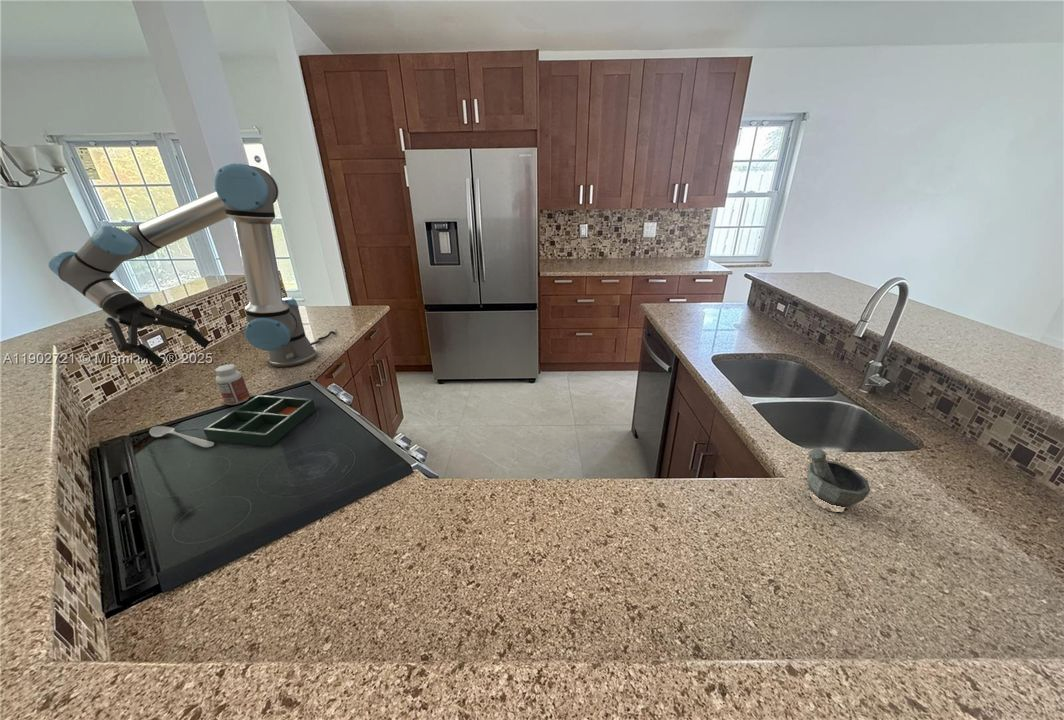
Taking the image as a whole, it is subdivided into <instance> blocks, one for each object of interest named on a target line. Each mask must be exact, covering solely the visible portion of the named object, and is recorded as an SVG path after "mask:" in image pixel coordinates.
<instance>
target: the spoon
mask: <svg viewBox="0 0 1064 720" xmlns="http://www.w3.org/2000/svg"><path fill="white" fill-rule="evenodd" d="M148 433H149V435H150V436H151V437H153V438H160V437H164V436H166V435H174V436H177V437H180V438H182V439H184V440H185V441H187V442H189V443H191V444H194V445H196V446H199V447H201V448H204V449H207V448H212V447H214V446H215V441H208V439H202V438H199V437H196V436H195V437H194V436H191V435H187V434H184V433H179V432H177V431H176V428H175V427H170V426H163V425H157V426H152V427H151V428H150V429H149V431H148Z"/></svg>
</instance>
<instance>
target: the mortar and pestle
mask: <svg viewBox="0 0 1064 720" xmlns="http://www.w3.org/2000/svg"><path fill="white" fill-rule="evenodd" d="M826 458H827V455H826V452H825V451H823V450H822V449H817V448H815V449H811V450H810V451H809V452H808V459H810V460H811V462H810V463H809V464H808V467H807V472H806V479H807V480H806V482H807V486H808V489H809V491H812V492H813V493H814V494H815V495H816V496H817V497H818V498H819V499H821V500H823V501H825V502H827V503H829V504H831V505H836V506H841V507H847V508H849V507H851V506H854V505H856V504H858V503H860V502H862V501H864V500H865V499H866V497H867V496H868V495H869V493H870V491H871V488H870V484H869V480H868V479H867V478H865V476H863V475H861V474H860V472H858V471H857V470H856V469H854V468H851V467H849V466H847V465H844V464H842V463H840V462H838V461H833V460H827V459H826Z"/></svg>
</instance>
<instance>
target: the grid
mask: <svg viewBox="0 0 1064 720" xmlns="http://www.w3.org/2000/svg"><path fill="white" fill-rule="evenodd" d="M316 410H317V407H316V405H315V401H314V398H303V397H292V396H291V397H290V396H280V395H279V396H277V395H265V394H257V395H256V396H254V397H253V398H251V399H250V400H247V401H245V403H243V404H242V405H240V406H238V407H237V408H235V409H234V410H232V411H230V412H229V413H227V414H225V415H224V416H222V417H220V418H219V419H217V420H216V421H214V422H212V423H211V424H209V425H208V426H206V427H205V428H203V429H202V430H203V433H204V435H205V437H206V440H207V441H211V442H216V443H225V444H226V443H228V444H236V445H237V444H238V445H246V446H247V445H248V446H258V447H259V446H260V447H267V448H268V447H269V448H270V447H272V446H273V445H274V444H275V443H277V442H278V441H279V440H280V439H281V438H283V437H284V436H286V435H287V434H288V433H289V432H290V431H292V430H293V429H294V428H295V427H297V426H298V425H299V424H300V423H301V422H302V421H304V420H305V419H306V418H308V417H309V416H310V415H311V414H312V413H314V412H315V411H316Z"/></svg>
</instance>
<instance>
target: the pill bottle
mask: <svg viewBox="0 0 1064 720" xmlns="http://www.w3.org/2000/svg"><path fill="white" fill-rule="evenodd" d="M214 369H215V370H214V371H215V374H216V377H215V382H216V385H217V388H218V390H219V392H220V395H221V396H222V400H223V402H224V403H225V405H228V406H236V405H239V404H242V403H244V402H245V403H246V402H247V401H249V399H250V397H251V396H250V393H249V390H248V388H247V384H246V382H245V379H244V377H243V374H242V372H240V371H239V370H237V367H236V364H232V363H230V364H223V365H221V366H220V365H219V366H217V368H214Z"/></svg>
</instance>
